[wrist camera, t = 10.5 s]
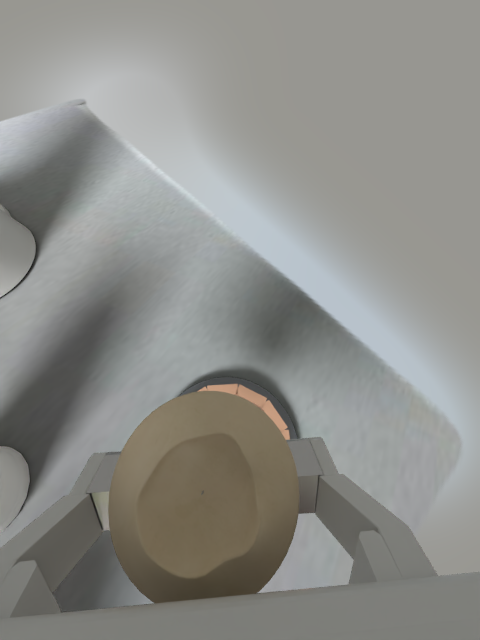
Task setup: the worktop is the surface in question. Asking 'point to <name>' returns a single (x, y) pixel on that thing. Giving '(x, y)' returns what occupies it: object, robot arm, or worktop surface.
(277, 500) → the candle
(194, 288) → the worktop surface
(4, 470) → the bottle
